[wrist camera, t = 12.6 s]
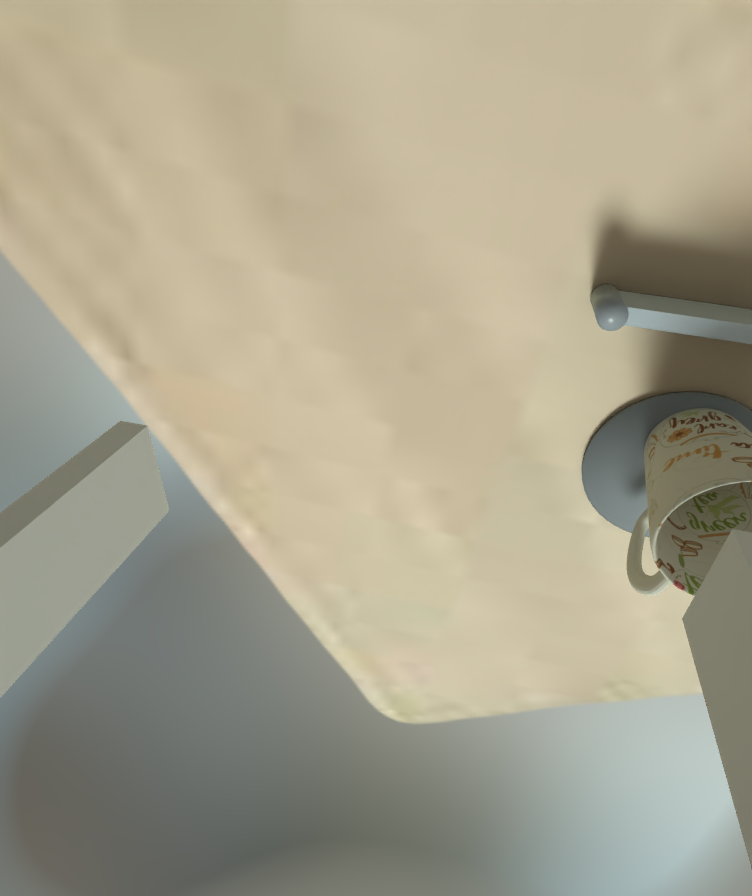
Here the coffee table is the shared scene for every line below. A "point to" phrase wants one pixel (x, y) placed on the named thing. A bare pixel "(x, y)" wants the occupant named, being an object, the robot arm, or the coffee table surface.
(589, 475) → the coaster
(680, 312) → the fence
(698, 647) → the robot arm
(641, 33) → the coffee table surface
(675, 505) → the mug
